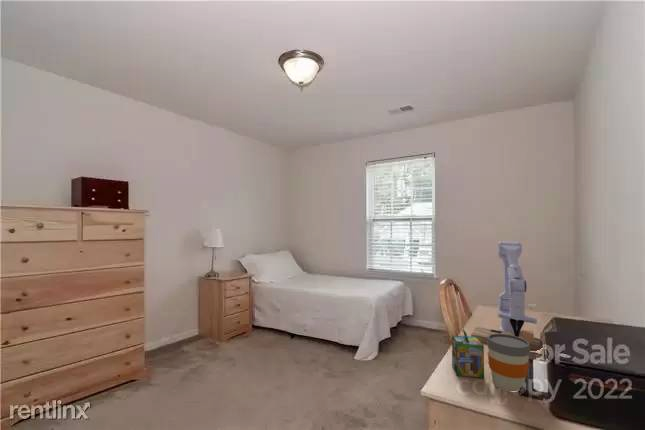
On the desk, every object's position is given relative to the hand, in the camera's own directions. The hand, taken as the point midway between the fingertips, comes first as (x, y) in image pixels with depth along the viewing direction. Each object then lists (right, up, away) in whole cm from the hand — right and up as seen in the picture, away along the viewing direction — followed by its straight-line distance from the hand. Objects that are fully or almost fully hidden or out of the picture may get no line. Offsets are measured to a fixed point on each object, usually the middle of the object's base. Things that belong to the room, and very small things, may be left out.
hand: (516, 336), depth 141 cm
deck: (-4, -3, +3) cm, 6 cm away
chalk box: (-33, -3, -25) cm, 42 cm away
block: (+3, -1, -2) cm, 4 cm away
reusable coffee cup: (-24, -3, -34) cm, 42 cm away
